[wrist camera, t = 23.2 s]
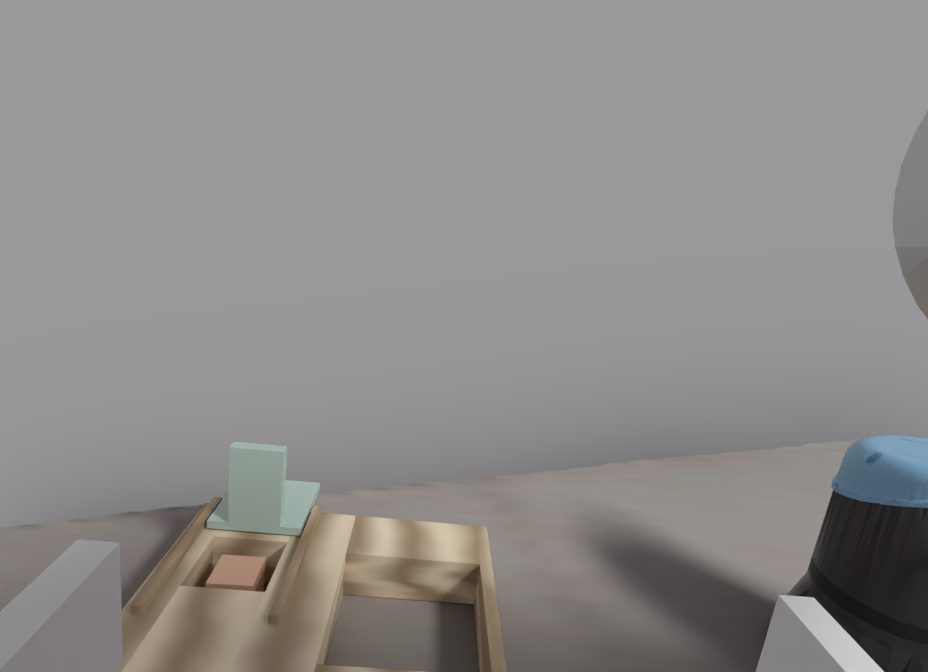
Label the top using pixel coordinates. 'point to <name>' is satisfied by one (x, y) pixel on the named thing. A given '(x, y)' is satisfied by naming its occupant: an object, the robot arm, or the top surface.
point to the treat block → (238, 573)
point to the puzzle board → (301, 592)
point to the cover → (263, 493)
